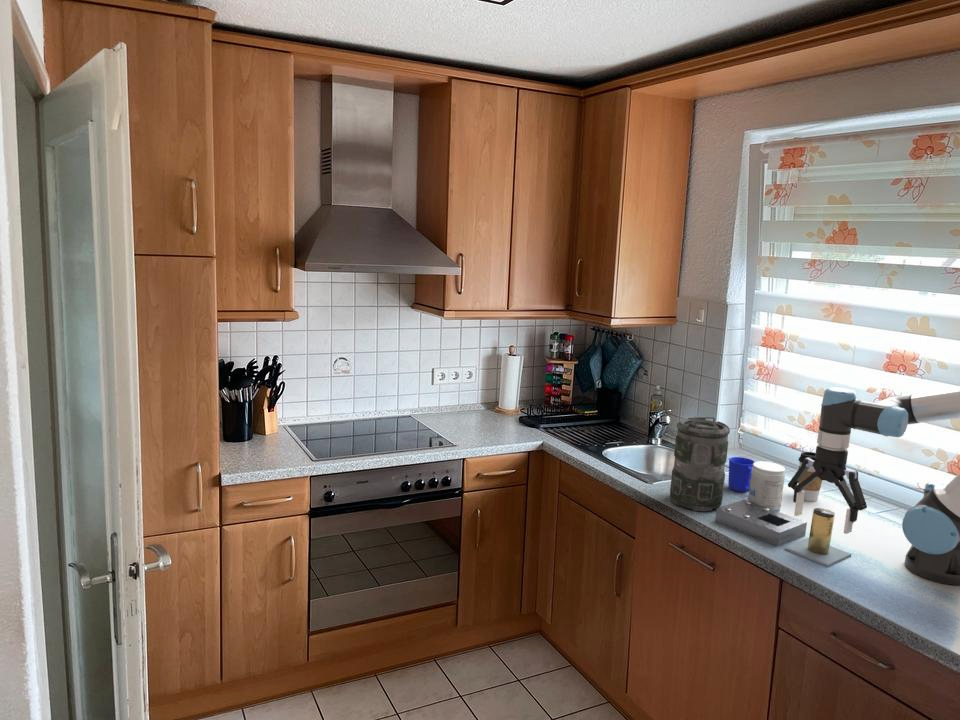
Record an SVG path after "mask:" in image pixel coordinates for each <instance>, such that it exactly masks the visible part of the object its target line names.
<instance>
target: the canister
mask: <svg viewBox="0 0 960 720" xmlns="http://www.w3.org/2000/svg"><path fill="white" fill-rule="evenodd" d="M710 419H711V420H710ZM676 428H677V431H676V433H677V435H676V436H675V442H674V452H673V453H674V454H673V455H674V464H673V468H672V470H671V480H670V486H669V487H670V488H669V498H670V500H671V502H672V503H673V504H674V505H676V506H679V507H680V508H681V507H683V508H686V509H690V510H692V511H695V512H711V511H713V510H715V509H717V508H719V507H722V503H723V498H724V488H725V479H726V473H725V466H726V463H727V459H728V458H727V457H728V449H729V448H728V447H729V441H728V439H729V434H730V432H731V430H730V427H729V425H727V424H726V423H724V422H721V421H719V420H718V421H716V417H715V416H694V417H689V418H686V419H681V421H678V422H676Z"/></svg>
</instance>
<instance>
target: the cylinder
mask: <svg viewBox="0 0 960 720" xmlns="http://www.w3.org/2000/svg"><path fill="white" fill-rule="evenodd" d="M834 521H835V512H834V511H832V510H830V509H828V508H823V507H822V508H821V507H815V508H813V511H812V517H811V523H810V529H809V535H808V536H809V537H808V538H809V541H808V550H809V551H811V552H813V553H816V554H821V555H826V554H828V553H829V547H830V546H831V540H832V534H833V529H834V527H833V526H834V523H835V522H834Z"/></svg>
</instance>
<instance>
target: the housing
mask: <svg viewBox="0 0 960 720" xmlns="http://www.w3.org/2000/svg"><path fill="white" fill-rule="evenodd" d="M715 522H716V523H719V524H721V525H724V526H727V527H729V528H731V529H733V530H736V529H737V531H738V530H740V531H739V532H741V531H742V533H743V532H745V533H744V534H746V533H747V535H748V534H749V535H748V536H751V535H752V536H751V537H753V536H754V537H753V538H756V539H758V538H759V540H761V541H763V540H764V541H763V542H765V543H768V542H769V543H768V544H770V543H771V545H773V546H776V547H780V546H782V545H785V544H788V543H789V542H790V543H791V542H792V541H793V542H794V541H795V540H798V539H800V538H803V537H805V536H806V532H807V526H808V521H805V520H802V519H799V518H797V517H795V516H791V515H789V514H786V513H783V512H781V511H780V512H777V511H775V510H772V509H769V508H767V507H764V506H761V505H758V504H756V503H753V502H750V501H748V499H743V500H740V501H736V502H732V503H730V504H726V505H723V506H720V507H718V508H716V514H715Z"/></svg>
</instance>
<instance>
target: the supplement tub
mask: <svg viewBox="0 0 960 720" xmlns="http://www.w3.org/2000/svg"><path fill="white" fill-rule="evenodd" d="M785 478H786V468H785V466H783V465H781V464H778V463H775V462H772V461H759V460H758V461H754V463H753V467H752V471H751V478H750V486H749V491H748V495H747V501H750V502H753V503H756V504H758V505H761V506H764V507H767V508H769V509H772V510H775V511H777V512H780V513H781V508H782V507H781V506H782V498H783V491H784V486H785Z"/></svg>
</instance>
